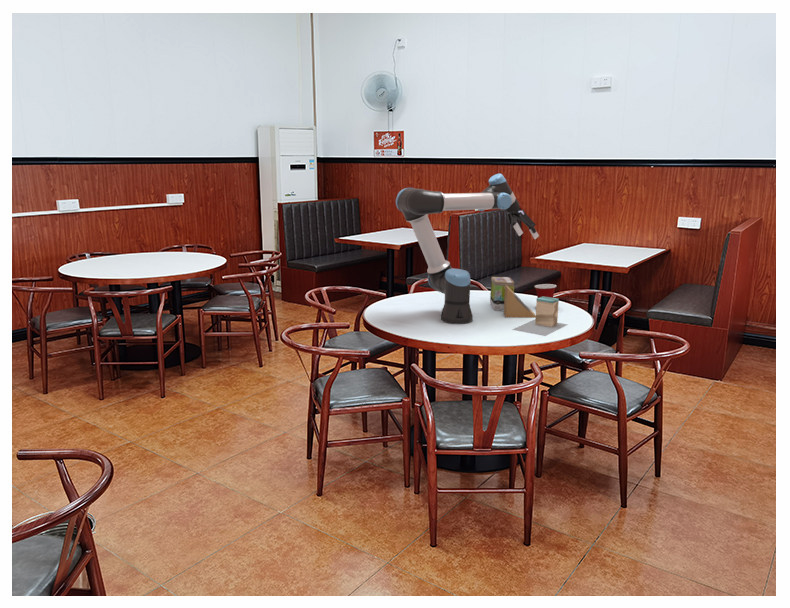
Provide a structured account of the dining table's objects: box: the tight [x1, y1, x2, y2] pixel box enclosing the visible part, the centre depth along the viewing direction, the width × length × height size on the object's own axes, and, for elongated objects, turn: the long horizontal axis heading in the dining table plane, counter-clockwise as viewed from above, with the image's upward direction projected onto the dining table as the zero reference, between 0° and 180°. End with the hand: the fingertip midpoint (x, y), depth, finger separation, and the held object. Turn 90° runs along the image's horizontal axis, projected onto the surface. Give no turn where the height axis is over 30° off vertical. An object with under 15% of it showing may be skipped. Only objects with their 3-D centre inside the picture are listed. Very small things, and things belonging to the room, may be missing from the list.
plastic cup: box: [534, 283, 557, 299], centre depth 314 cm, size 11×11×12 cm
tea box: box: [489, 276, 515, 311], centre depth 316 cm, size 15×10×15 cm
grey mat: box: [511, 319, 569, 337], centre depth 279 cm, size 24×16×1 cm, turn 142°
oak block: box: [534, 296, 560, 327], centre depth 282 cm, size 6×8×12 cm
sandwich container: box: [503, 285, 536, 319], centre depth 298 cm, size 9×15×15 cm, turn 87°
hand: (528, 236), depth 314 cm, fingers open, 13 cm apart
